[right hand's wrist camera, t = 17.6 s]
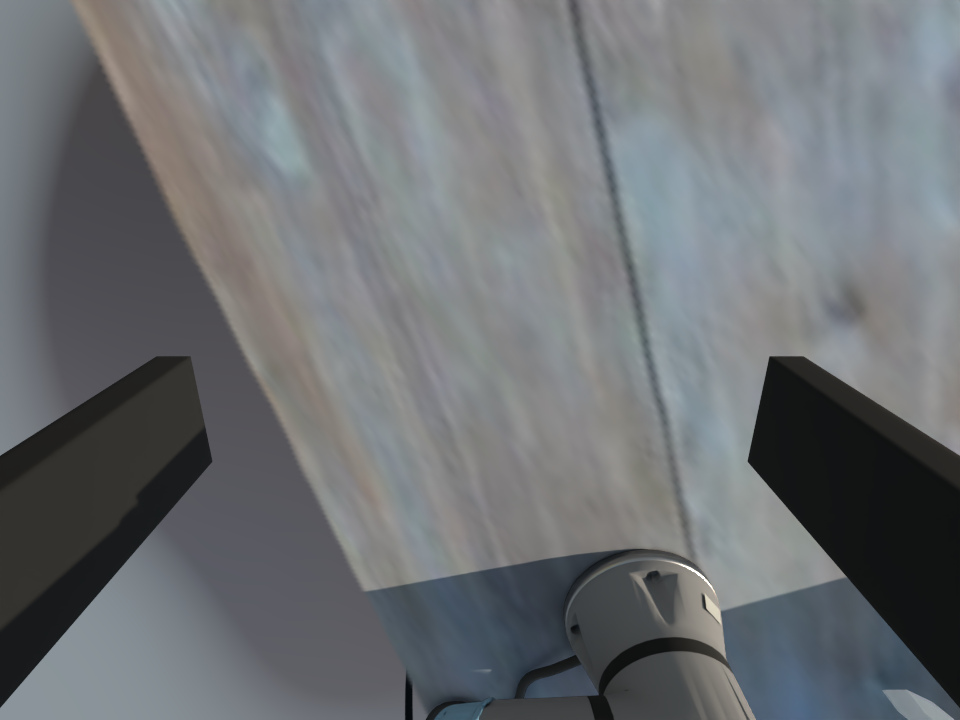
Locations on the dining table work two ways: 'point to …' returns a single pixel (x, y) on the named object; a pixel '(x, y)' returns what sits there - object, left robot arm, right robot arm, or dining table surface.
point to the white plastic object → (915, 706)
